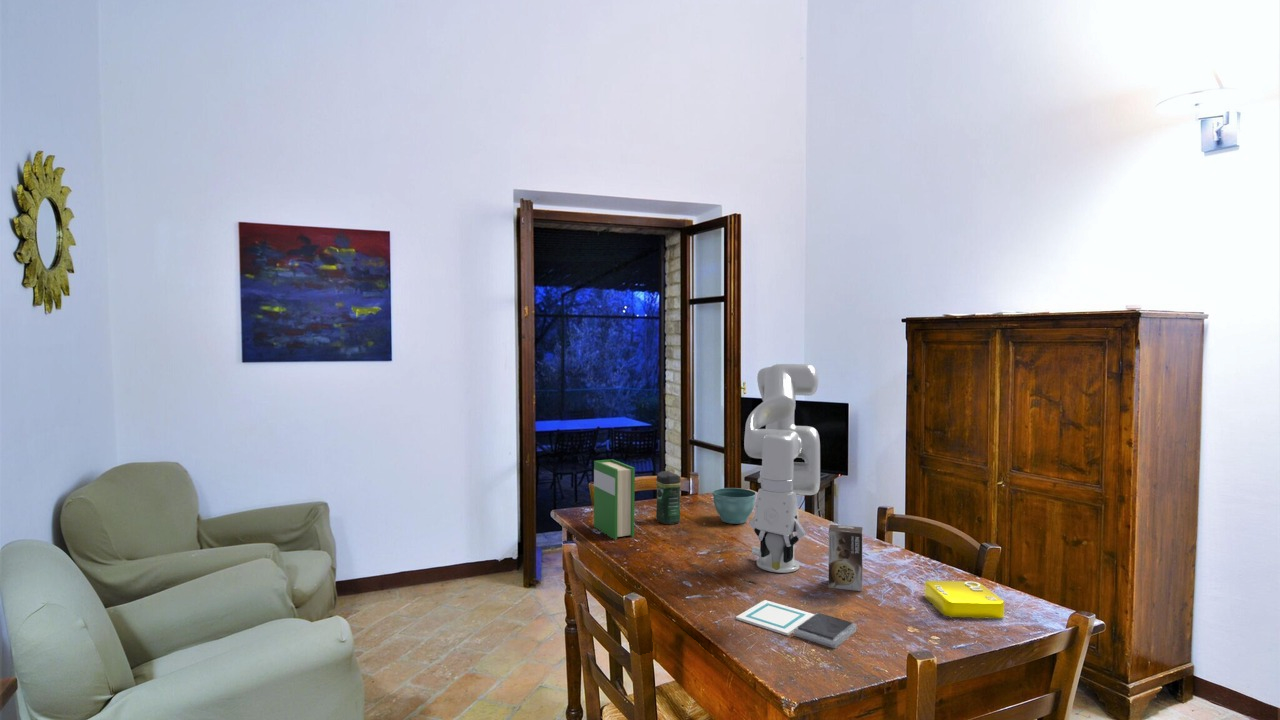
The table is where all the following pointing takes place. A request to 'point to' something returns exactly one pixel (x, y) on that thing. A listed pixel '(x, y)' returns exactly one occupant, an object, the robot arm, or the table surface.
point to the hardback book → (614, 498)
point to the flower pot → (734, 504)
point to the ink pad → (825, 630)
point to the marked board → (774, 617)
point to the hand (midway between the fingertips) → (776, 557)
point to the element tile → (964, 599)
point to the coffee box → (845, 557)
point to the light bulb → (775, 548)
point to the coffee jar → (668, 497)
